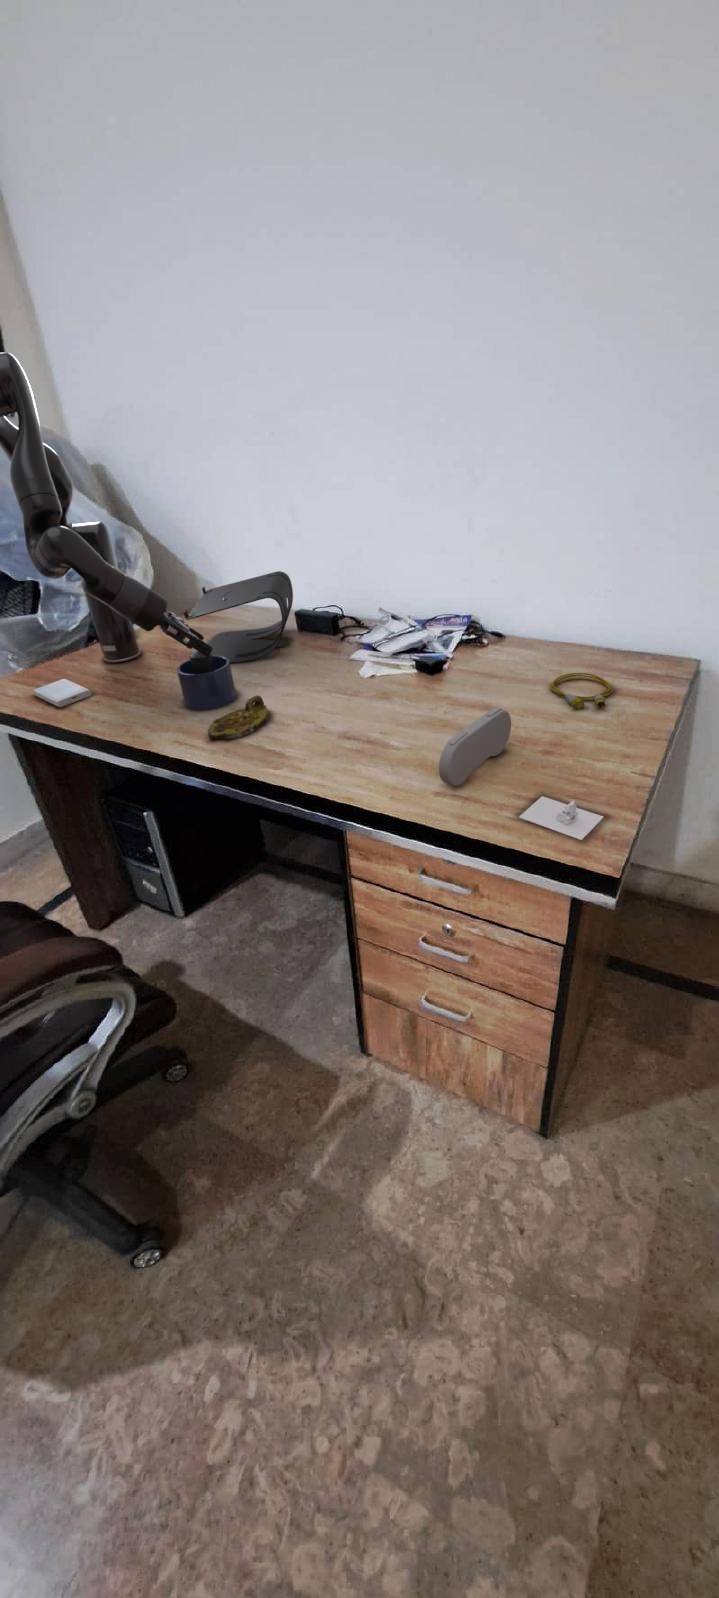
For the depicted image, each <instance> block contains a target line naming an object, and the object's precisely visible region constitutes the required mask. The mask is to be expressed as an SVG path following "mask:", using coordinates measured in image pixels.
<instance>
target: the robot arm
mask: <svg viewBox="0 0 719 1598" xmlns="http://www.w3.org/2000/svg"><path fill="white" fill-rule="evenodd" d="M15 414H17V422H18V425H17V426H18V427H17V426H15V425H14V424H13V423H12V422H11V421H10V420H8V418H7V417H9V416H10V415H11V416H12V415H15ZM0 449H2V451H3V452H4V454H5V456H6V457H7V459H8V460H9V462H10V466H9V467H10V468H9V477H10V483H11V487H12V490H13V493H14V496H15V499H16V501H17V505H18V507H19V510H20V513H21V515H22V524H23V525H22V526H23V533H24V540H25V546H26V551H27V555H28V558H29V560H30V562H31V564H32V566H33V568H34V569H35V570H36V571H37V572H38V573H39V574H40V575H41V576H43V577H46V578H47V579H51V580H52V579H53V580H54V579H55V580H56V579H57V580H58V579H60V578H62V577H64V576H66V574H67V573H68V572H69V571H70V570H71V569H72V570H73V571H74V572H75V573H77V574H78V575H79V576H80V578H81V581H80V586H81V588H82V590H83V593H84V596H85V597H84V598H85V600H86V603H87V605H88V609H89V613H90V616H91V619H92V623H93V627H94V629H95V633H96V636H97V640H98V643H99V646H100V650H101V653H102V655H103V656H102V657H103V661H104V662H106V663H110V664H111V663H112V664H115V663H116V664H117V663H123V662H128V661H131V660H134V659H136V658H138V657H139V656H140V655H141V649H140V646H139V643H138V639H137V636H136V632H135V628H134V625H136V626H137V627H139V628H140V629H142V630H144V631H146V632H151V631H153V630H154V629H155V627H157V626H159V628H160V629H161V632H162V633H164V634H165V635H166V636H169V637H171V638H172V639H173V640H175V641H176V642H177V643H180V644H182V645H183V646H185V647H186V648H187V649H189V650H192V649H194V650H196V652H197V651H199V652H200V653H202V654H203V655H205V656H209V654H210V653H211V651H212V650H213V648H212V647H211V646H210V645H208V644H209V643H207V642H205V641H203V640H204V635H203V634H201V633H200V632H198V631H197V630H195V629H194V628H193V627H191V626H189V624H188V623H187V622H185V621H184V619H182V618H181V617H180V616H177V615H176V614H175V613H174V612H172V611H169V610H167V607H168V601H167V599H166V598H165V597H163V596H162V595H160V594H159V593H157V592H156V591H154V590H153V589H151V588H150V587H148V586H146V585H145V584H144V583H142V582H140V581H139V580H137V579H135V578H133V577H131V576H129V575H128V574H126V573H125V572H122V570H120V569H119V565H118V562H117V558H116V553H115V548H114V544H113V540H112V536H111V532H110V530H109V528H108V526H107V525H106V523H104V522H103V521H90V522H80V523H72V521H70V519H69V518H68V517H69V511H70V507H71V504H72V500H73V496H74V481H73V479H72V477H71V475H70V473H69V471H68V469H67V468H66V466H65V464H64V462H63V460H62V459H61V457H60V456H59V454H58V453H57V452H56V451H55V450H54V449H52V448H51V447H50V446H48V444H46V443H44V440H43V433H42V431H41V425H40V420H39V416H38V412H37V407H36V402H35V399H34V393H33V391H32V388H31V384H30V383H29V380H28V377H27V375H26V373H25V371H24V369H23V367H22V366H21V364H20V362H19V361H18V359H17V358H16V357H15V356H14V355H13V354H12V353H10V352H6V351H5V352H0ZM187 639H188V641H187Z"/></svg>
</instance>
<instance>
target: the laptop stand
mask: <svg viewBox="0 0 719 1598" xmlns="http://www.w3.org/2000/svg"><path fill="white" fill-rule="evenodd" d="M293 590H294V589H293V583H292V581H291V578H290V576H289V575H288V574H287V573H286V572H284V571H282V570H281V571H280V570H279V571H278V570H277V571H273V572H270V573H266V574H263V575H258V576H255V577H251V578H246V579H243V580H239V581H235V582H231V583H228V584H224V585H220V586H217V587H212V588H209V589H206V587H205V586H202V588H201V591H202V593H203V594H202V595H201V596H200V598H199V599H198V601H197V602H196V604H194V606H193V607H192V608H191V610H190V612H189V613H188V610H187V609H185V610H184V611H183V616H184V618H185V620H186V621H189V620H192V619H196V618H200V617H203V616H206V615H210V614H214V613H217V612H222V611H225V610H229V609H231V608H232V609H233V608H236V607H239V606H244V605H247V604H250V603H254V602H258V601H261V600H265V599H271V600H273V601H275V602H276V603H277V605H278V606H279V610H280V614H281V620H280V621H277V622H276V623H275V624H274V623H273V624H272V625H269V626H266V627H261V628H255V629H244V630H233V631H224V632H221V633H218V634H217V635H215V636H214V637H213V638H212V639H211V640H210V642H209V643H207V644H208V645H210V646H211V647H212V648H213V650H212V651H211V653H212V655H218V656H224V657H226V658H228V659H229V660H230V664H239V663H240V664H241V663H246V662H250V661H255V660H257V659H260V658H263V657H265V656H266V655H269V654H270V653H272V652H273V651H274V650H275V649H282V648H286V647H288V646H289V644H290V637H288V636H287V637H283V635H284V631H285V628H286V625H287V622H288V619H289V616H290V613H291V610H292V606H293V602H294V591H293ZM278 631H279V633H278V635H277V636H276V637H269V636H272V635H273V634H275V633H277V632H278ZM267 637H269V638H267Z"/></svg>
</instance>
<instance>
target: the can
mask: <svg viewBox="0 0 719 1598" xmlns="http://www.w3.org/2000/svg"><path fill="white" fill-rule="evenodd" d="M212 658H213V663H214V668H215V671H212V672H207V673H201V674H193V669H192V665H191V661H190V659H187V660H185V661H183V662H181V663H180V664H179V665H178V666H177V668H176V673H177V677H178V682H179V685H180V686H179V687H180V689H181V693H182V698H183V701H184V705H185V707H187V708H188V709H191V710H195V711H208V710H214V709H218V708H221V707H225V706H227V705H229V704H230V703H232V702H233V701H235V700H236V698H237V690H236V686H235V681H234V675H233V671H232V666H231V663H230V660H229V659H228V658H226V657H224V656H218V655H212Z"/></svg>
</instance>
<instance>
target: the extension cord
mask: <svg viewBox="0 0 719 1598" xmlns="http://www.w3.org/2000/svg"><path fill="white" fill-rule="evenodd" d="M575 680H585V681H586V680H587V681H592V682H596V683H599V684H602V685H604V686H606V688H607V690H605V691H603V692H600V693H595V694H594V695H591V696H580V695H579V696H578V695H573V694H571V693H567V694H566V693H565V692H564V691H562V690H560V689H559V688H557V687H556V685H558V684H561V683H564V682H568V681H575ZM550 690H551V691H552V692H554V693H555V695H557V696H559V697H561V698H565V700H566V701H567V702H568V703H569V705H570V706H572V707H574V708H576V709H577V710H581V709H582V708H584V706H585V702H589V701H594V704H595V706H596V707H597V709H599V710H601V709H605V707H606V700H605V697H608V696H610V695H611V694H612V693H613V689H612V687H611V684H610V683H609V682H608V681H607V680H606V679H604V678H603V677H601V676H598V675H596V674H592V673H587V672H571V673H566V674H562V675H560V676H557V677H556V678H555V679H554V680H553V681H552V682H551V685H550Z"/></svg>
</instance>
